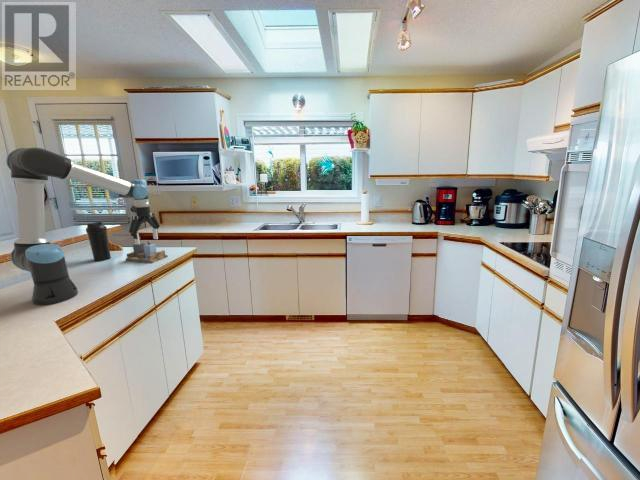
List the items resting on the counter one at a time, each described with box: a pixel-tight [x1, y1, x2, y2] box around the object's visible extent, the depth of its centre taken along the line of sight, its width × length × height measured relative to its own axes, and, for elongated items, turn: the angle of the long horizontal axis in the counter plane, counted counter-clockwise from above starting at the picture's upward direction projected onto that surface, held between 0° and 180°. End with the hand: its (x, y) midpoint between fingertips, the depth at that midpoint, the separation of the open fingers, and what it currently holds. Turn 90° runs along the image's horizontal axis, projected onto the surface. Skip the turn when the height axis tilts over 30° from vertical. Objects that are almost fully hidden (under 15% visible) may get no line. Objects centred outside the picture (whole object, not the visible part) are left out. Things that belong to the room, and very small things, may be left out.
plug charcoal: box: [132, 242, 146, 257], centre depth 183 cm, size 4×4×10 cm
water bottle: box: [85, 221, 112, 262], centre depth 182 cm, size 10×10×23 cm
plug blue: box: [143, 240, 158, 258], centre depth 181 cm, size 4×4×10 cm
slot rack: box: [125, 249, 169, 264], centre depth 184 cm, size 12×20×4 cm, turn 75°
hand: (147, 241), depth 180 cm, fingers open, 13 cm apart
